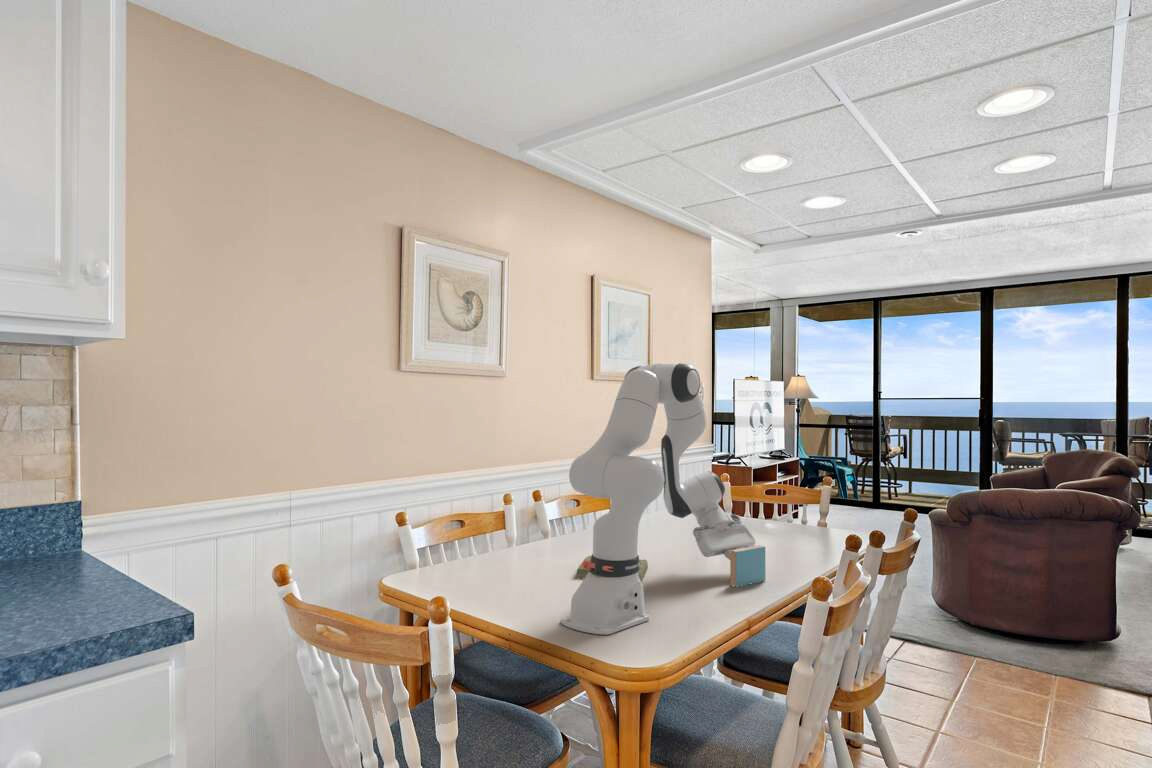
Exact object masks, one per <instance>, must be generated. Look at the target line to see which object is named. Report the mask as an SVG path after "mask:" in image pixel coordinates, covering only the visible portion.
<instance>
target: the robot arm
mask: <svg viewBox="0 0 1152 768" xmlns="http://www.w3.org/2000/svg"><path fill="white" fill-rule="evenodd" d="M700 388H701V378H700V374H699V373H698V371H697V369H696V368H695V367H693V365H692V364H688V363H678V364H677V363H653V364H648V365H637V366H634V367H632V368H630V369H629V370H628V371H627V373H626V374H625V375H624V379H623V381H622V383H621V386H620V388H619V389H618V393H617V396H616V397H615V401H614V404H613V408H612V411H611V413H610V415H609V418H608V422H607V424H606V427H605V429H604V431H603V433H602V434H601V435H600V437H599V438H598V440H597V441H596V442H595V443H594V444H593V445H592V446H591V448H589V449H588V450H586V451H585V452H584V453H582V454H581V455H579V456H576V457H575V459H574V460H573V461H572V462H571V465H570V468H569V473H568V477H569V483H570V486H571V488H572V489H573V490H574V491H576V492H577V493H580V494H582V495H585V496H588V497H591V498H598V499H606V500H607V499H608V500H611V504H610V508H609V511H608V512H607V513H605V514H604V515H601V516H600V517H599V518H598V519H596V521H595V522H594V524H593V526H592V527H593V528H592V554H591V555H590V556H591V559H590V561H586V560H584V559H583V560H584V561H583V560H582V562H584V563H582V562H581V563H582V564H583V565H582V567H584V568H583V569H588V571H589V572H588V574H587V576H586V577H585V579H582V581H581V583H580V585H579V586H578V588H577V589H576V591H575V592H573V593H574V594H572V597H571V601H570V611H568V612H567V613H566V614H564V615H563V616H561V617H560V622H559V623H561V624H562V625H563V626H565V627H567V628H570V629H573V630H575V631H579V632H584V633H586V634H587V633H588V634H594V635H603V636H604V635H605V636H606V635H608V636H609V635H612V634H614V633H617V632H620V631H622V630H625V629H629V628H631V627H634V626H636V625H639V624H642V623H645V622H647V621H650V618H649V617H650V615H649V614H648V613H647V612H646V609H645V593H644V585H643V581H642V582H641V580H640V578H639V575H638V571H639V565H640V561H639V560H640V556H639V555H638V542H639V541H638V540H639V539H638V538H639V537H638V536H639V528H640V522H641V519H642V516H643V514H644V512H645V510H646V509H647V507H648V506H649V505H650V504H651V503H653V502H654V501H655V500H656V499H658V498H659V496H660V495H661V494H662V491H663V501H664V506H665V508H666V510H667V511H668V513H669V515H671V516H674V517H676V518H680V519H684V518H686V517H688V516H691V514H692V515H693V516H694V517H695V519H696V522H697V524H698V527H694V529H693V530H692V535H693V536H694V538H695V542H696V545H697V547H698V549H699V551H700V553H701V554H702V556H703V557H705V558H711V557H714V556H715V557H717V556H721V555H723V556H725V558H726V559H728V560H729V561H730V550H735V549H740V548H746V547H752V546H756V539H755V536H754V535H753V534H752V532H751V531H750V529H749V528H748V527H747V525H745V524H744V523H742V522H743V518H742V517H741V516H740V515H736V514H732V513H729V512H726V511H725V510H724V509H723V508H722V507H721V506H720V505H719V503H720V502H721V501H722V499H723V497H724V495H725V492H726V487H725V485H724V483H723V481H722V479H721V478H720V477H719V475H718V474H716V473H714V472H712V471H709V470H708V471H704V472H701V473H698V474H697V475H695V476H692V477H689V478H688V479H684V480H682V481H681V478H680V476H681V475H680V466H679V465H680V464H679V463H680V459H681V457H682V455H683V454H684V453H685V451H686V450H687V449H689V447H691V446H692V445H693V444H694V443H696V442H697V441H698V440H699V438H700V437H701V436H702V435H703V433H704V431H705V429H706V426H707V419H706V413H705V409H704V405H703V401H702V399H701V395H700V392H699V391H700ZM659 404H661V405H662V404H663V406H664V407H663V408H664V413H665V416H666V420H667V421H666V422H667V423H666V431H665V434H664V435H663V437H662V438H661V440H660V441H661V442H660V447H661V449H660V452H661V453H660V454H661V464H662V467H661V465H660V464H659V463H658V462H657V461H656V460H655V461H654V460H652V459H648V458H645V457H642V456H636V455H635V456H634V455H632V456H631V453H633V452H634V451H636V450H637V449H639V448H641V447H642V446H644V445H645V444H646V443H648V441H649V438H650V435H651V432H652V428H653V425H654V421H655V417H656V414H657V409H658V405H659Z"/></svg>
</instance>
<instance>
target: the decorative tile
mask: <svg viewBox="0 0 1152 768" xmlns="http://www.w3.org/2000/svg"><path fill="white" fill-rule="evenodd" d="M591 556H592V555H588V556H586V557H584V559H583V560H582V562H581V563H580V564H579V566H578V568H577V570H576V574H575V575H576V577H575V578H576V579H578V578H585V577H586V576H587V574H588V572H589V571H588V569H583V568H584V567H582V565H583V564H582V563H584V562H583V561H584V560H586V561H590V559H591ZM639 561H640V565H639V571H638V575H639V578H640V580H641V582H642V583H643V580H644V579H643V578H645V576H646V573H647V570H648V569H649V568H648V566H649V564H648V560H647V559H639Z"/></svg>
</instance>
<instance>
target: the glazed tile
mask: <svg viewBox="0 0 1152 768" xmlns="http://www.w3.org/2000/svg"><path fill="white" fill-rule="evenodd" d="M729 561H730V562H729V565H730V567H729V569H730V572H729V573H730V577H729V578H730V580H729V582H730V584H731V585H734V586H741V585H745V586H747V585H746V584H750V583H754V584H756V583H755V582H759V583H761V582H760V581H763V582H765V581H766V546H763V545H759V544H758V545H754V546H752V547H746V548H740V549H735V550H730V560H729ZM764 580H765V581H764ZM731 585H730V586H731ZM750 585H751V584H750ZM734 586H733V587H734ZM741 587H742V586H741Z"/></svg>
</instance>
